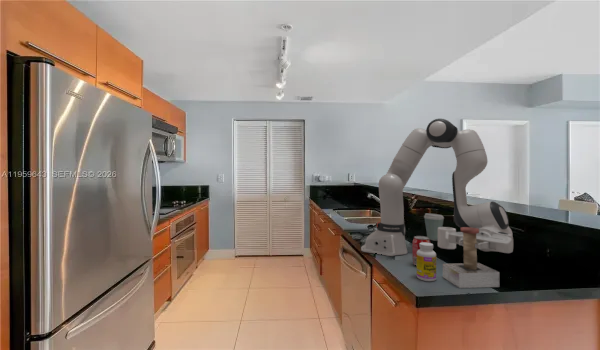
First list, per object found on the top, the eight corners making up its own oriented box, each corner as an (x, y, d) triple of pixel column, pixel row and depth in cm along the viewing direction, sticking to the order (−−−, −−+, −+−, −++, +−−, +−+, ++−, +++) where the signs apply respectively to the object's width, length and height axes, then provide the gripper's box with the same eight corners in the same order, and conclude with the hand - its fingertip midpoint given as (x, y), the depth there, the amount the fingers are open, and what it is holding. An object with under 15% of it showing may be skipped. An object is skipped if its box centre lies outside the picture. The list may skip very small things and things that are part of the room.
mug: (437, 244, 151) (437, 226, 151) (455, 246, 148) (455, 227, 148) (438, 250, 140) (438, 230, 140) (458, 251, 137) (457, 231, 137)
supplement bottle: (422, 282, 98) (421, 246, 98) (413, 275, 105) (413, 241, 105) (440, 281, 99) (439, 245, 99) (430, 275, 105) (430, 241, 105)
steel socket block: (459, 288, 93) (459, 273, 93) (442, 277, 103) (442, 263, 103) (499, 286, 94) (499, 272, 94) (479, 276, 104) (479, 262, 104)
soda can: (433, 265, 116) (433, 237, 116) (427, 269, 111) (426, 240, 111) (416, 262, 121) (416, 234, 121) (409, 265, 116) (409, 237, 116)
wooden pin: (462, 269, 97) (461, 229, 97) (460, 264, 102) (459, 226, 102) (480, 271, 95) (480, 230, 95) (478, 266, 100) (477, 227, 100)
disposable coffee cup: (437, 237, 168) (437, 212, 168) (448, 241, 158) (448, 215, 158) (420, 237, 168) (420, 213, 168) (430, 241, 157) (430, 215, 157)
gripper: (457, 227, 114) (439, 231, 106) (517, 235, 97) (501, 241, 90) (458, 242, 114) (440, 247, 106) (518, 253, 97) (502, 260, 90)
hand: (468, 244), depth 98 cm, fingers closed on wooden pin, 4 cm apart
